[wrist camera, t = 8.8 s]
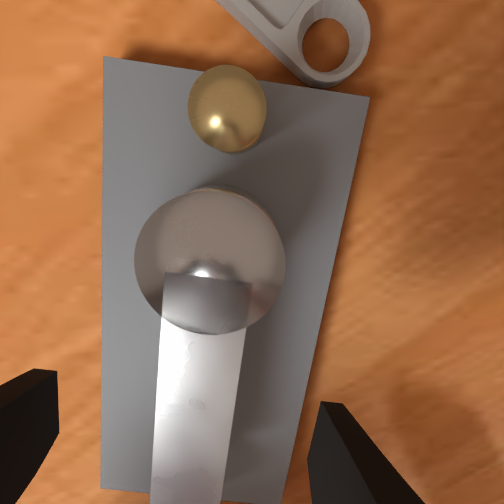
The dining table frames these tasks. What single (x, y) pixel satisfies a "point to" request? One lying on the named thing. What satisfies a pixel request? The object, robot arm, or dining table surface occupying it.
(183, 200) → the ball topped lever
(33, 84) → the dining table surface
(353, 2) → the adjustable wrench
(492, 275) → the dining table surface
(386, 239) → the dining table surface
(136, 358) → the board
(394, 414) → the dining table surface
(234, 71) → the peg pair
